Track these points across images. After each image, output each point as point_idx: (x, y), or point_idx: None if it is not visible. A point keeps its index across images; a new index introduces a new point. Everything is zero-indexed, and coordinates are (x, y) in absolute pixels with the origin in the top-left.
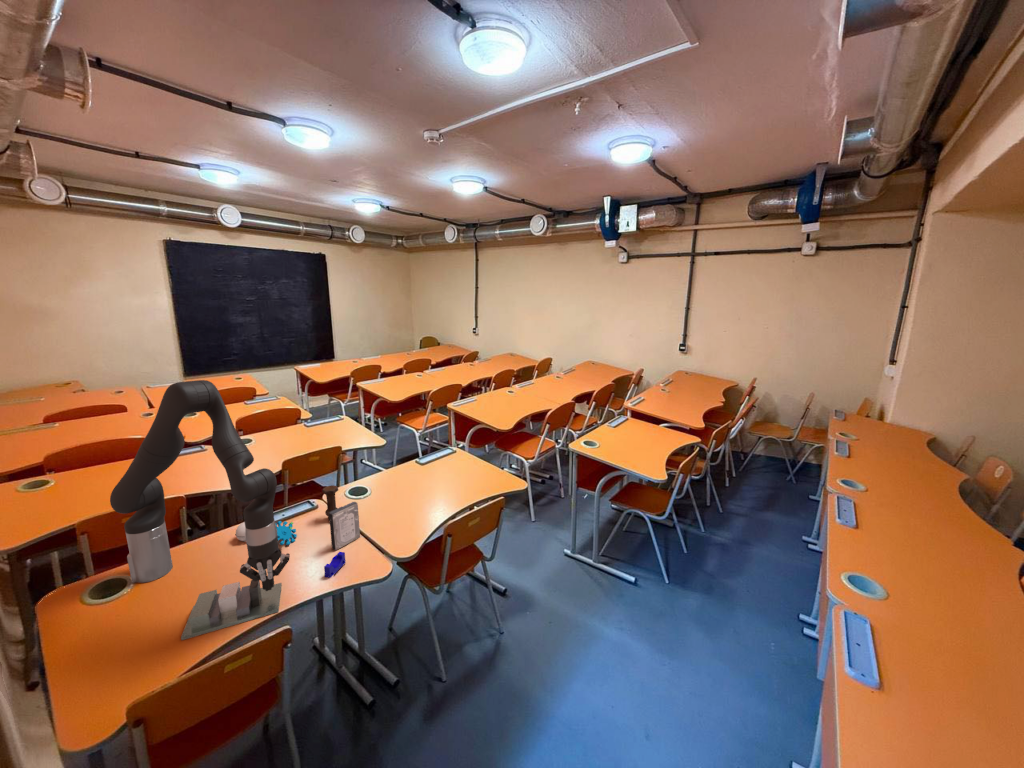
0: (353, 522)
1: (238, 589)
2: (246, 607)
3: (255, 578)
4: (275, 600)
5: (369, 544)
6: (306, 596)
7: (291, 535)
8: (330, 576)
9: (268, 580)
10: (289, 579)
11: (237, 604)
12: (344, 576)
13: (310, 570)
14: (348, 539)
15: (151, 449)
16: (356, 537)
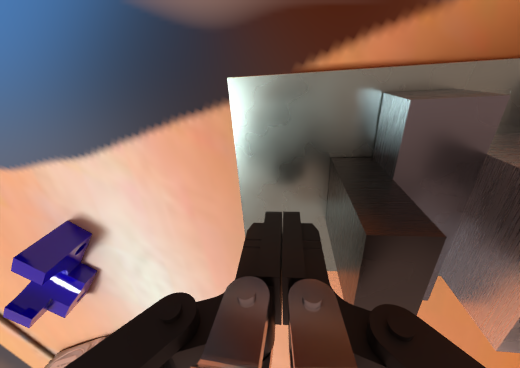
0: None
1: (503, 281)
2: (428, 99)
3: (411, 345)
4: (254, 160)
5: None
6: (124, 144)
7: None
8: (61, 225)
9: (269, 271)
10: (227, 274)
11: (483, 165)
12: (12, 206)
13: (162, 286)
14: (65, 361)
15: None
16: (58, 356)
